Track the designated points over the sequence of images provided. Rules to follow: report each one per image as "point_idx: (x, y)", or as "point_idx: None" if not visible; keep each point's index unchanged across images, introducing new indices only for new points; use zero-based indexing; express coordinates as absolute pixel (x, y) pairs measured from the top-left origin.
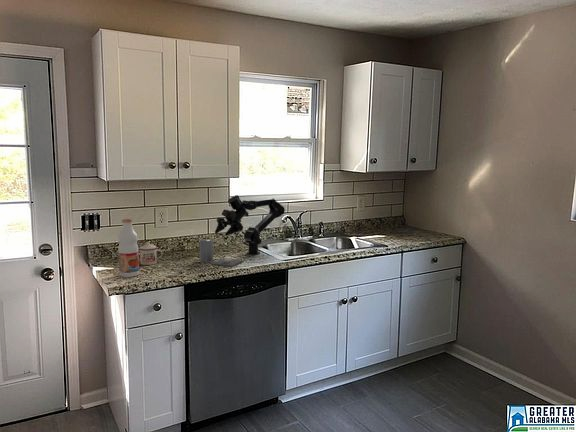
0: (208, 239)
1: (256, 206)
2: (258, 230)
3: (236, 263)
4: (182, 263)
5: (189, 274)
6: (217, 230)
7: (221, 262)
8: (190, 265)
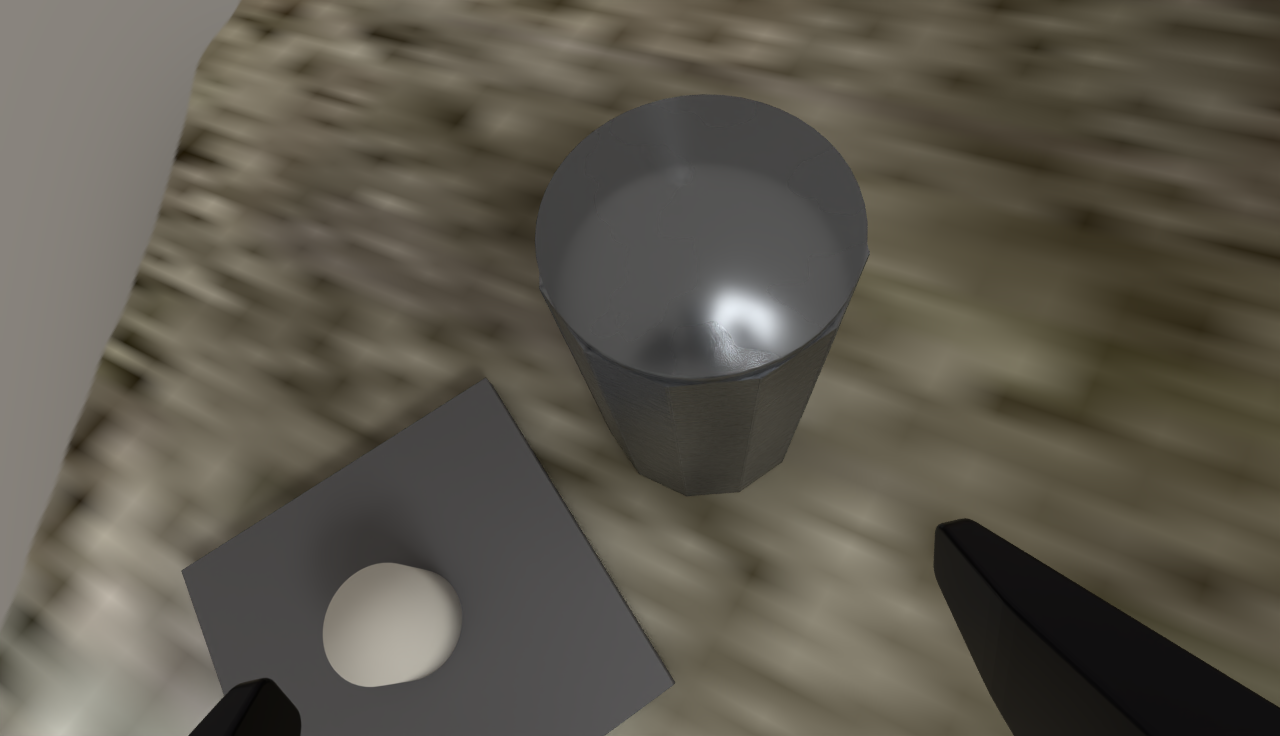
0: (758, 304)
1: None
2: None
3: None
4: None
5: (290, 76)
6: (1028, 672)
7: (433, 520)
8: None
